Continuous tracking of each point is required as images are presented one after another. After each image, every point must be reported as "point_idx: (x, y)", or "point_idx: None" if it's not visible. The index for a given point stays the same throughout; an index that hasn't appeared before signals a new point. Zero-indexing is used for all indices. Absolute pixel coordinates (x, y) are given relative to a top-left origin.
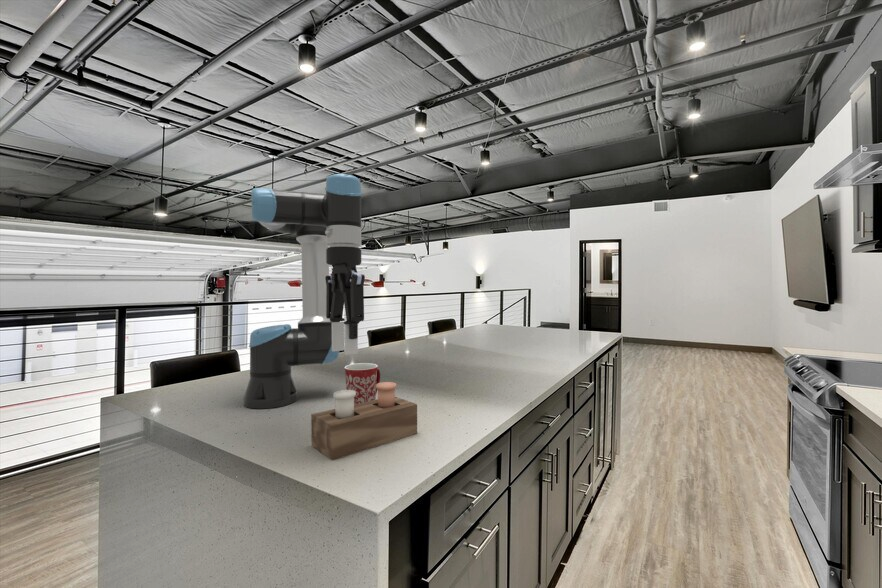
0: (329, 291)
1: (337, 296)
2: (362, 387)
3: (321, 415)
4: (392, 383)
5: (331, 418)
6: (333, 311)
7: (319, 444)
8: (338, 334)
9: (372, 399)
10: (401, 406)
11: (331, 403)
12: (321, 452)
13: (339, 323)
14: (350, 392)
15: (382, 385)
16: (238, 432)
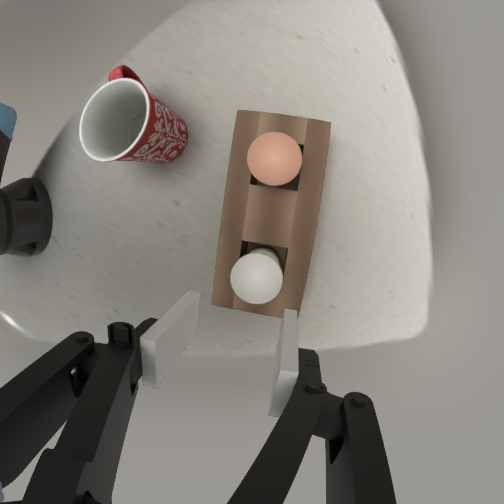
0: (28, 458)
1: (109, 476)
2: (159, 141)
3: (232, 298)
4: (280, 140)
5: None
6: (129, 416)
7: None
8: (177, 340)
9: (176, 122)
10: (316, 154)
11: None
12: None
13: (157, 359)
14: (266, 270)
15: (275, 172)
16: (108, 315)
